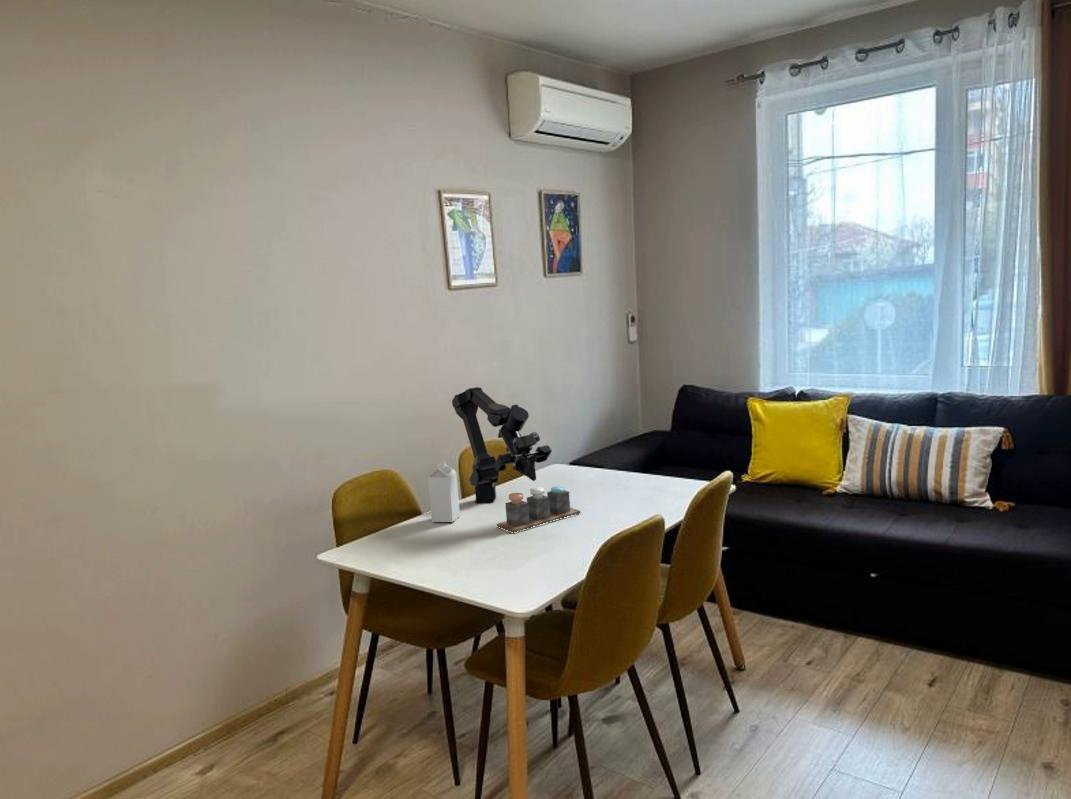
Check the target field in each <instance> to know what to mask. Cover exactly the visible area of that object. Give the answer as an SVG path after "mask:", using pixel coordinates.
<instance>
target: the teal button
mask: <svg viewBox="0 0 1071 799" xmlns="http://www.w3.org/2000/svg"><path fill="white" fill-rule="evenodd" d="M550 491H551V493H553V494H561V493H564V492H565V491H566V489H565V487H564V486H561V485H560V486H559V485H557V486H552V487H550Z"/></svg>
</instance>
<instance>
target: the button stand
mask: <svg viewBox="0 0 1071 799" xmlns="http://www.w3.org/2000/svg"><path fill="white" fill-rule="evenodd" d="M546 495H547V496H546ZM546 495H544V494H543V498H540V499H534V498H533V495H530V496H528V497H526V501H523V500H521V504H517V505H514V504H512V503H511V501H508V502H505V516H506V521H502V522H498V523H496V527H497V526H498V527H500V528H503V529H505V530H508V531H511V532H513V533H514V532H517V531H520V530H523V529H527V528H531V527H533V526H537V525H540V524H543V523H546V522H550V521H553V520H556V519H560V518H564V517H567V516H571V515H575V514H578V515H580V514H581V510H579V509H575V508H573V507H571V500H570V491H568V490H565V492H564V493H561V494H553V493H551V490H550V491H546ZM579 513H580V514H579ZM575 516H576V515H575ZM498 527H497V528H498ZM500 528H499V529H500ZM503 529H502V530H503ZM531 529H532V528H531ZM505 530H504V531H505ZM514 534H515V533H514Z"/></svg>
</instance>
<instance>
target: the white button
mask: <svg viewBox="0 0 1071 799" xmlns="http://www.w3.org/2000/svg"><path fill="white" fill-rule="evenodd" d="M529 491H530V495H531V496H533V498H534V499H540V498H543V495H544V494H545V488H544V487H537V486H536V487H532V488H530V489H529Z"/></svg>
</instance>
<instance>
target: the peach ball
mask: <svg viewBox="0 0 1071 799" xmlns="http://www.w3.org/2000/svg"><path fill="white" fill-rule="evenodd" d="M523 499H524V493H523V492H512V493H509V494H508V500H509V501H510V502H511V503H512V504H514V505H517V504H521V501H522V500H523Z"/></svg>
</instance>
